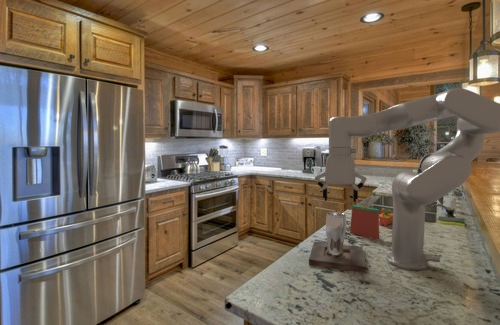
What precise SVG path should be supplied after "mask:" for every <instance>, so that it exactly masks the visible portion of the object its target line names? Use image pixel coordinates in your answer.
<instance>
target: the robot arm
mask: <svg viewBox="0 0 500 325" xmlns="http://www.w3.org/2000/svg"><path fill="white" fill-rule="evenodd" d="M451 117H456V118H458V119H457V121H456V134H455V137H454V138H453V139H452V140H451V141H449V143H447V144H446V145H445V146H443V147H441V148H440V149H438V150H436V151H435V152H434V153H432V154H431V155H428V156H427V157H426V158H425V159H424V160H423V162H422V163H421V167H420V168H421V172H420V173H419V172H415V171H403V172H400V173H398V174H397V175H395V177H394V178H393V181H392V184H391V193H392V213H393V223H392V229H391V230H392V231H391V234H392V235H391V251H390V252H389V253H387V254H386V256H385V257H386V258H385V259H386V261H387V262H388V263H390V264H391V265H393V266H395V267H399V268H400V269H401V268H402V269H406V270H409V271H410V270H412V271H423V270H427V269H428V267H429V262H435V263H441V258H440V256H439V255H434V254H433V253H426V252H425V250H424V241H425V223H426V222H425V220H426V207H425V206H427V205H431V204H433V203H435V202H437V201H439V200H441V199H442V198H443V197H445V196H447V195H448V194H449V193H451V192H452V191H455V190H456V189H458V188H459V187H461V186H462V185H463V184H464V183H465V182H467V181H468V179H469V178H470V177H471V173H472V172H473V171H472V169H473V168H472V163H471V162H472V161H473V160H475V159H476V158H477V157H478V156H479V155H480V154H481V152H482V151H483V148H484V143H485V135H489V134H497V133H500V103H499V102H497V101H494V100H492V99H490V98H487V97H485V96H483V95H481V94H478V93H476V92H474V91H471V90H469V89H466V88H462V87H454V88H450V89H448V90H444V91H442V92H441V91H440V92H439V93H434V94H432V95H427V96H424V97H420V98H417V99H413V100H409V101H405V102H401V103H398V104H395V105H393V106H391V107H389V108H386V109H383V110H380V111H377V112H374V113H373V112H372V113H369V114H362V115H361V114H360V115H356V116H333V117H331V118H330V119H328V156H326V161H325V169H324V172H322V173H320V174H318V175H316V176H315V177H314V179H315V181H316V183H317V185H318V187H320V188H321V190H322V198H323V199H324V201H325V202H326V201H328V186H329V185H330V186H331V185H332V186H333V185H335V186H336V185H337V186H338V185H339V186H351V187H352V188H353V190H352V191H353V192H352V195H353V198H352V199H353V203H356V201H357V200H359V190H360V189H361V188H362V187H364V185H365V183H366V182H367V180H368V179H367V177H366V176H364V175H362V174H360V173H358V172H356V164H355V156H354V155H353V156H352V154H356V153H357V149H356V148H353V147H352V138H356V139H360V138H362V139H363V138H369V137H372V135H376V134H379V133H384V132H388V131H395V130H397V131H398V130H403V129H409V128H413V127H416V126H420V125H423V124H428V123H431V122H436V121H440V120H443V119H447V118H451ZM321 178H324V181H325V182H324V183H323V182H322V181H321ZM356 178H358V179H360V182H359V183H358V184H356Z"/></svg>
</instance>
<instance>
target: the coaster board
mask: <svg viewBox="0 0 500 325" xmlns="http://www.w3.org/2000/svg"><path fill="white" fill-rule="evenodd" d="M312 243H313V244H312V246H311V247H312V248H311V250H310V254H309V258H308V266H312V267H313V266H314V267H319V268H321V267H322V268H328V269H335V270H342V271H349V272H357V273H362V274H363V273H364V274H367V264H366V260H365V255H364V248H363V246H358V245H357V246H356V245H349V244H343V252H344V257H343V258H336V257H329V256H327V254H326V252H327V248H328V242H321V241H313V242H312Z"/></svg>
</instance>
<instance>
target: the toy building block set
mask: <svg viewBox="0 0 500 325" xmlns="http://www.w3.org/2000/svg"><path fill="white" fill-rule="evenodd" d="M379 213H380V214H379ZM350 218H351V219H350V230H349V233H350V234H354V235H357V236H361V237H365V238H370V239H373V240H380V226H383V227H387V225H388V224H390V225H392V224H393V212H392V209H389V208H383V207H382V208H381V210H380V211H379V209H377V208H374V207H373V208H372V207H369V206H368V207H367V205H366V204H364V205H363V206H361V205H355V204H352V207H351V216H350ZM382 224H383V225H382ZM388 226H389V225H388Z"/></svg>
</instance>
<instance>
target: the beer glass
mask: <svg viewBox="0 0 500 325" xmlns="http://www.w3.org/2000/svg"><path fill="white" fill-rule="evenodd" d="M325 218H326V219H325V231H326V232H325V233H326V240H327V243H328V248H327V252H326V254H327V256H329V257H336V258H343V257H344V252H343V245H344V242H345V238H346V233H347V215H346V213H343V212H339V211H329V212H326V217H325Z"/></svg>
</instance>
